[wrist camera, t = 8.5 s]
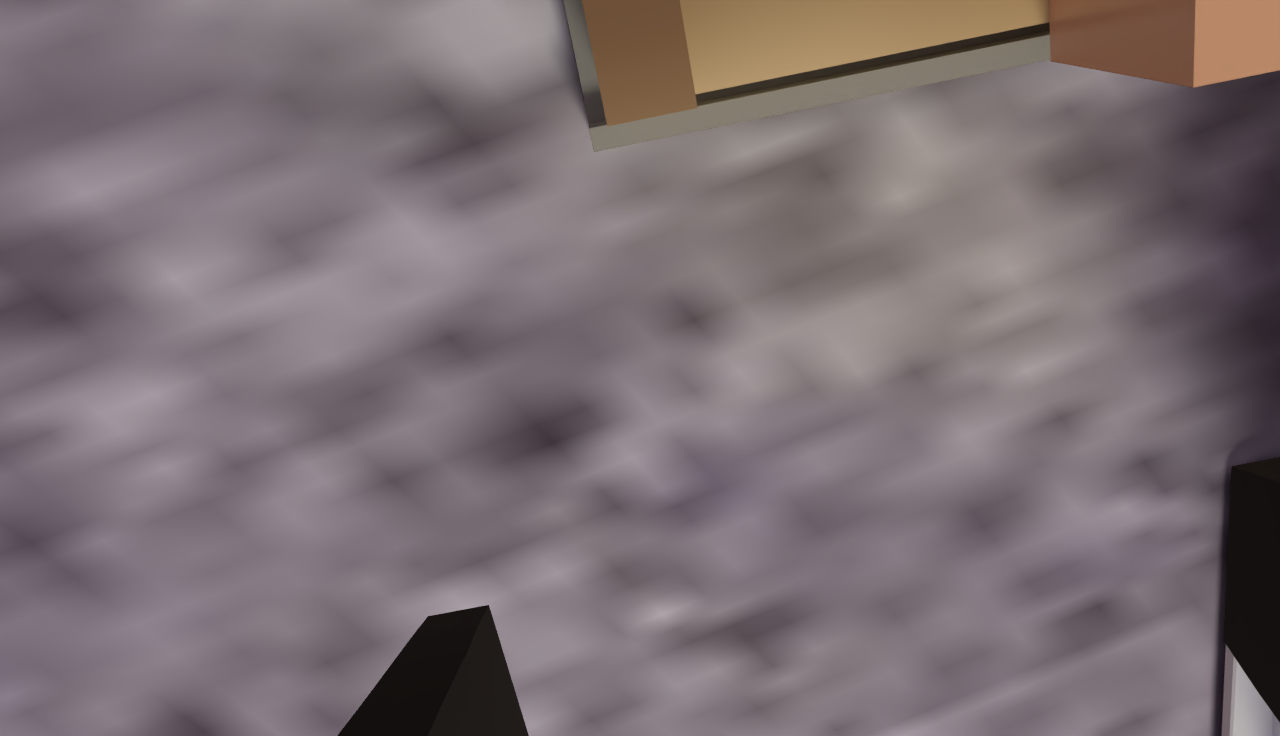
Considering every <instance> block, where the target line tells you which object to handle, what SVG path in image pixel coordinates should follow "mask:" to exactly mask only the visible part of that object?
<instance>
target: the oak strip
mask: <svg viewBox="0 0 1280 736" xmlns="http://www.w3.org/2000/svg"><path fill="white" fill-rule="evenodd" d="M582 4H583V9H584V13H585V18H586V23H587V28H588V33H589V38H590V43H591V48H592V53H593V58H594V63H595V68H596V73H597V78H598V83H599V88H600V93H601V98H602V102H603V107H604V112H605V117H606V122H607V126H612V125H617V124H622V123H627V122H632V121H636V120H641V119H646V118H651V117H656V116H661V115H666V114H671V113H676V112H681V111H686V110H690V109H695V108H698V107H697V101H696V95H695V94H700V93H705V92H710V91H715V90H720V89H724V88H729V87H734V86H739V85H744V84H749V83H754V82H759V81H764V80H769V79H773V78H778V77H783V76H788V75H793V74H798V73H803V72H808V71H813V70H817V69H822V68H827V67H832V66H837V65H842V64H847V63H852V62H857V61H862V60H866V59H871V58H876V57H881V56H886V55H891V54H896V53H901V52H906V51H911V50H915V49H920V48H925V47H930V46H935V45H940V44H945V43H950V42H955V41H960V40H964V39H969V38H974V37H979V36H984V35H989V34H994V33H999V32H1004V31H1008V30H1013V29H1018V28H1023V27H1028V26H1033V25H1038V24H1043V23H1048V22H1049V0H582Z"/></svg>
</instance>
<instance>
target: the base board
mask: <svg viewBox="0 0 1280 736" xmlns="http://www.w3.org/2000/svg"><path fill="white" fill-rule="evenodd" d="M563 1H564V6H565V10H566V15H567V20H568V25H569V29H570V34H571V39H572V44H573V49H574V53H575V58H576V63H577V68H578V72H579V77H580V82H581V87H582V92H583V96H584V101H585V106H586V111H587V116H588V120H589V132H590V136H591V141H592V146H593V151H594V152H596V151H601V150H606V149H611V148H616V147H621V146H626V145H631V144H636V143H641V142H645V141H650V140H655V139H660V138H665V137H670V136H675V135H680V134H685V133H690V132H695V131H700V130H705V129H710V128H715V127H719V126H724V125H729V124H734V123H739V122H744V121H749V120H754V119H759V118H764V117H769V116H774V115H779V114H784V113H788V112H793V111H798V110H803V109H808V108H813V107H818V106H823V105H828V104H833V103H838V102H843V101H848V100H853V99H858V98H862V97H867V96H872V95H877V94H882V93H887V92H892V91H897V90H902V89H907V88H912V87H917V86H922V85H927V84H931V83H936V82H941V81H946V80H951V79H956V78H961V77H966V76H971V75H976V74H981V73H986V72H991V71H996V70H1001V69H1005V68H1010V67H1015V66H1020V65H1025V64H1030V63H1035V62H1040V61H1045V60H1050V59H1051V56H1050V22H1048V23H1043V24H1038V25H1033V26H1028V27H1023V28H1018V29H1013V30H1008V31H1004V32H999V33H994V34H989V35H984V36H979V37H974V38H969V39H964V40H960V41H955V42H950V43H945V44H940V45H935V46H930V47H925V48H920V49H915V50H911V51H906V52H901V53H896V54H891V55H886V56H881V57H876V58H871V59H866V60H862V61H857V62H852V63H847V64H842V65H837V66H832V67H827V68H822V69H817V70H813V71H808V72H803V73H798V74H793V75H788V76H783V77H778V78H773V79H769V80H764V81H759V82H754V83H749V84H744V85H739V86H734V87H729V88H724V89H720V90H715V91H710V92H705V93H700V94H695V95H696V101H697V107H698V108H695V109H690V110H686V111H681V112H676V113H671V114H666V115H661V116H656V117H651V118H646V119H641V120H636V121H632V122H627V123H622V124H617V125H612V126H607V122H606V117H605V112H604V107H603V102H602V98H601V93H600V88H599V83H598V78H597V73H596V68H595V63H594V58H593V53H592V48H591V43H590V38H589V33H588V28H587V23H586V18H585V13H584V9H583V4H582V0H563Z"/></svg>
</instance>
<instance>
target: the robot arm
mask: <svg viewBox="0 0 1280 736" xmlns="http://www.w3.org/2000/svg"><path fill="white" fill-rule="evenodd" d="M1224 642H1225V644H1226V653H1225V675H1224V696H1223V717H1222V736H1280V457H1279V458H1274V459H1269V460H1263V461H1258V462H1253V463H1247V464H1242V465H1237V466H1232V469H1231V490H1230V512H1229V534H1228V555H1227V577H1226V598H1225V620H1224ZM338 736H529V735H528V732H527V729H526V726H525V722H524V719H523V716H522V712H521V709H520V706H519V703H518V699H517V696H516V693H515V690H514V686H513V683H512V680H511V676H510V673H509V670H508V667H507V663H506V660H505V657H504V653H503V650H502V647H501V644H500V640H499V637H498V634H497V631H496V627H495V624H494V621H493V617H492V614H491V611H490V608H489V605H487V606H481V607H476V608H470V609H465V610H460V611H454V612H449V613H444V614H438V615H433V616H428V617H427V618H426V620H425V621H424V622H423V623H422V625H421V626H420V627H419V628H418V630H417V631H416V632H415V634H414V635H413V636H412V638H411V639H410V640H409V642H408V643H407V644H406V646H405V647H404V648H403V650H402V651H401V652H400V654H399V655H398V656H397V658H396V659H395V660H394V662H393V663H392V664H391V666H390V667H389V668H388V670H387V671H386V672H385V674H384V675H383V676H382V678H381V679H380V680H379V682H378V683H377V684H376V686H375V687H374V689H373V690H372V691H371V693H370V694H369V695H368V697H367V698H366V699H365V701H364V702H363V703H362V705H361V706H360V707H359V709H358V710H357V711H356V712H355V714H354V715H353V716H352V718H351V719H350V720H349V721H348V723H347V724H346V725H345V727H344V728H343V729H342V731H341V732H340V733H339V734H338Z"/></svg>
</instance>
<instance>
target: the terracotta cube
mask: <svg viewBox="0 0 1280 736" xmlns="http://www.w3.org/2000/svg"><path fill="white" fill-rule="evenodd" d="M1049 22H1050V56H1051V61H1052V62H1058V63H1063V64H1069V65H1074V66H1079V67H1085V68H1090V69H1096V70H1101V71H1107V72H1112V73H1117V74H1123V75H1128V76H1134V77H1139V78H1144V79H1150V80H1155V81H1161V82H1166V83H1171V84H1177V85H1182V86H1188V87H1193V88H1194V87H1199V86H1204V85H1209V84H1213V83H1218V82H1223V81H1228V80H1233V79H1238V78H1243V77H1248V76H1253V75H1258V74H1263V73H1268V72H1273V71H1278V70H1280V0H1049Z"/></svg>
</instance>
